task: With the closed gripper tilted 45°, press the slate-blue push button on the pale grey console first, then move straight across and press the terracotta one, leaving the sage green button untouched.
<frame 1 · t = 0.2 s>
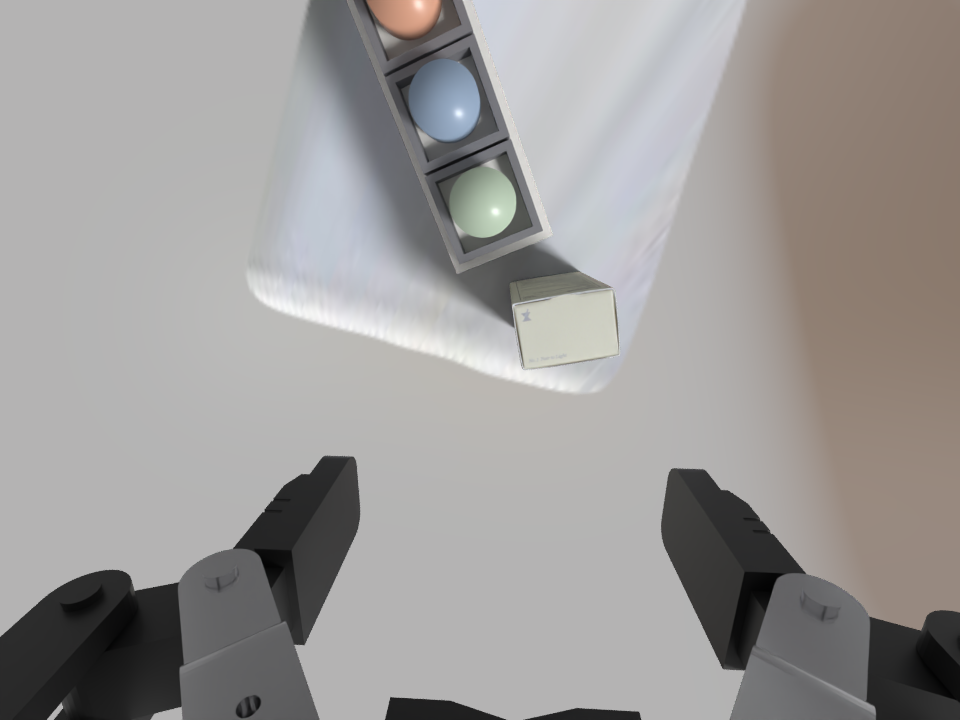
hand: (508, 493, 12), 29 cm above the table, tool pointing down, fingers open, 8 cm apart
skincare box: (549, 299, 39), on the table
sage button: (483, 203, 29), point 9 cm above the table, slide at 0.0 cm
slate blue button: (445, 103, 27), point 9 cm above the table, slide at 0.0 cm
button console: (461, 132, 36), on the table
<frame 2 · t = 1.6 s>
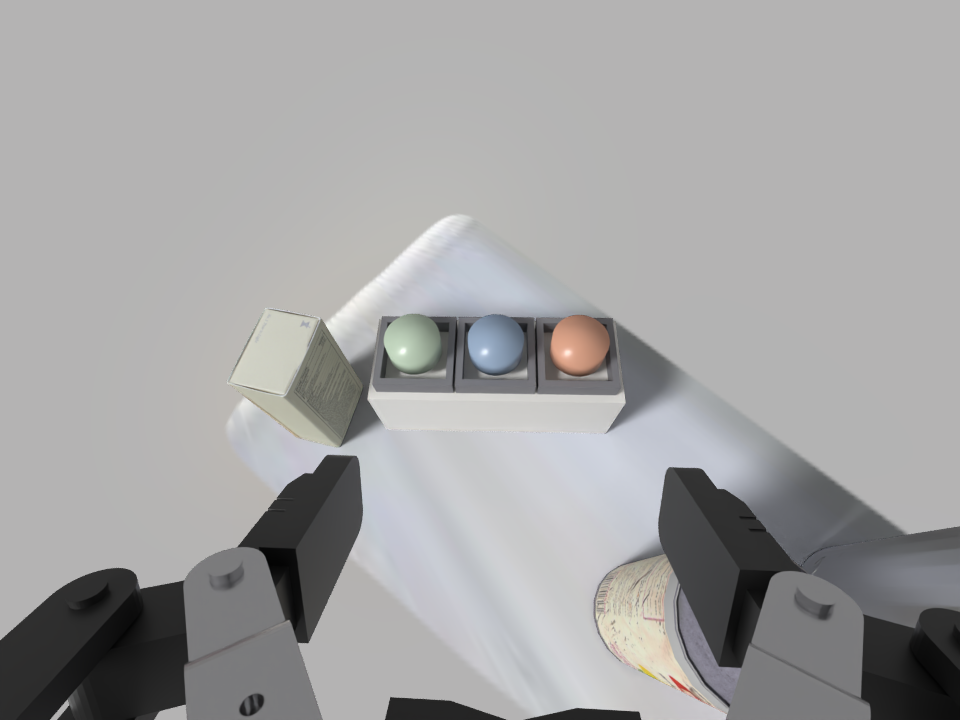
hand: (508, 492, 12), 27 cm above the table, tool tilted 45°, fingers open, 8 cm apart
skincare box: (332, 413, 42), on the table
terracotta button: (578, 345, 34), point 9 cm above the table, slide at 0.0 cm
aerosol can: (640, 614, 34), on the table
sage button: (413, 344, 34), point 9 cm above the table, slide at 0.0 cm
slate blue button: (495, 345, 34), point 9 cm above the table, slide at 0.0 cm
button console: (495, 394, 42), on the table
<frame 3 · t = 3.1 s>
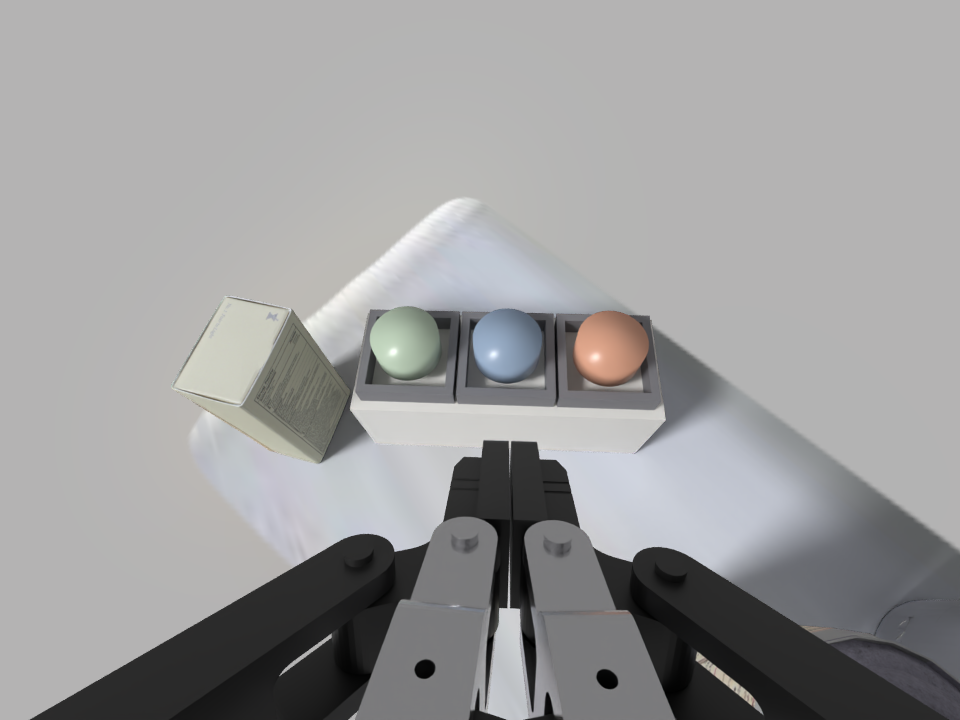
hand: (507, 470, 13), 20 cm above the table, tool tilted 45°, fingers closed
skincare box: (313, 423, 36), on the table
terracotta button: (609, 348, 27), point 9 cm above the table, slide at 0.0 cm
aerosol can: (679, 680, 28), on the table
sage button: (407, 343, 28), point 9 cm above the table, slide at 0.0 cm
slate blue button: (507, 346, 28), point 9 cm above the table, slide at 0.0 cm
button console: (504, 404, 36), on the table
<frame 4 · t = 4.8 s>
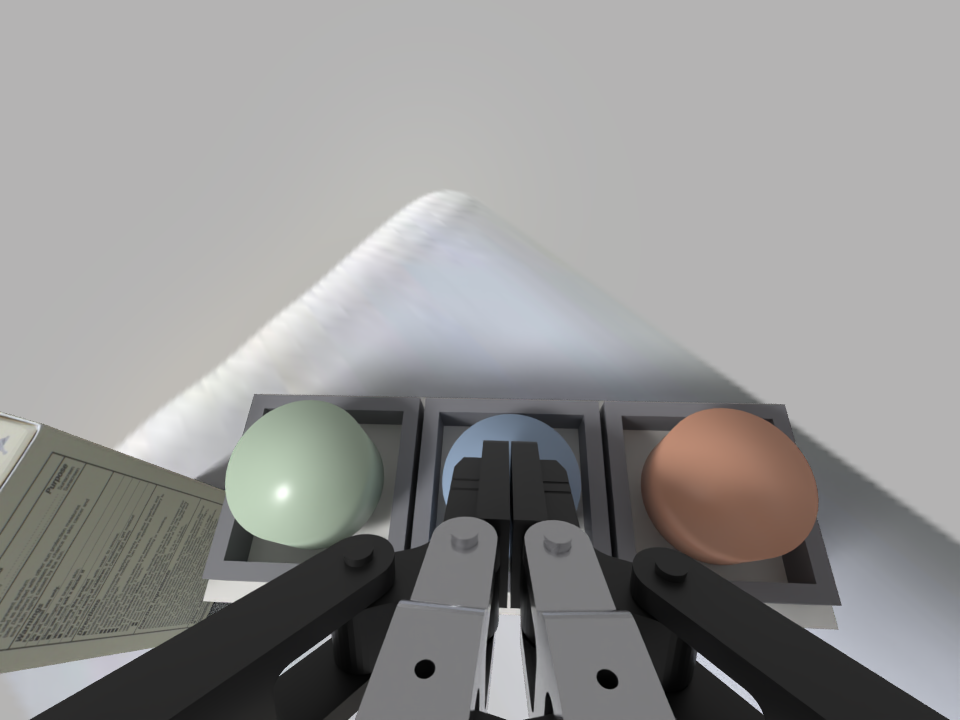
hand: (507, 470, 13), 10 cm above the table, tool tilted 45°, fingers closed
skincare box: (193, 560, 22), on the table
terracotta button: (721, 486, 13), point 9 cm above the table, slide at 0.0 cm
sage button: (310, 474, 14), point 9 cm above the table, slide at 0.0 cm
slate blue button: (510, 486, 14), point 8 cm above the table, slide at 0.8 cm, touching gripper
button console: (507, 526, 22), on the table
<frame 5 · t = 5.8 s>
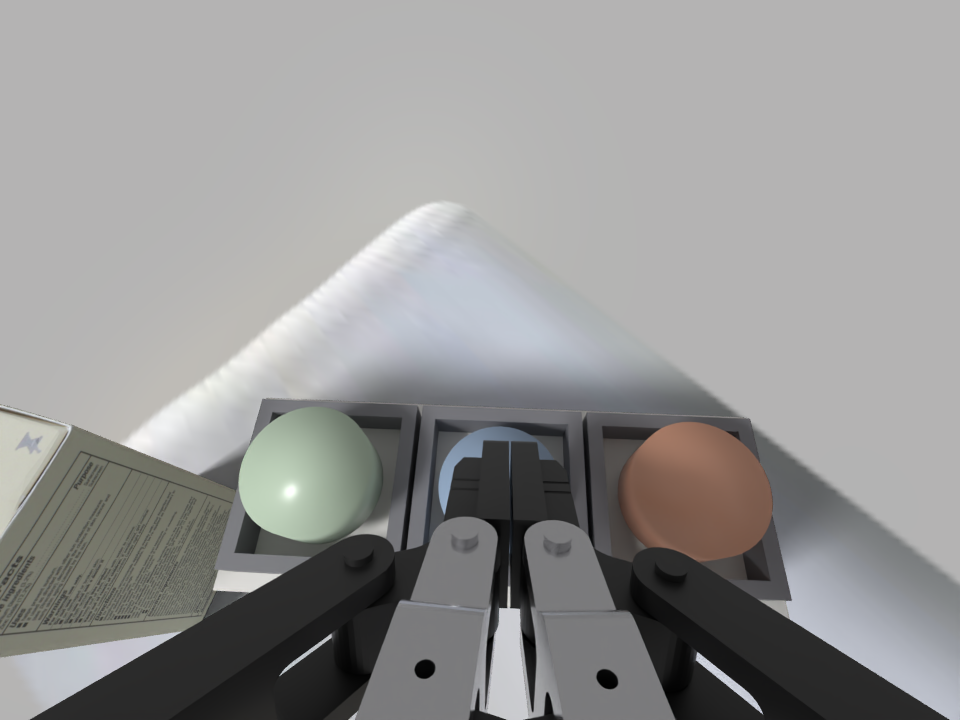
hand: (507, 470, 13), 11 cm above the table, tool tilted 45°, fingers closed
skincare box: (196, 552, 23), on the table
terracotta button: (689, 492, 15), point 9 cm above the table, slide at 0.0 cm
sage button: (315, 475, 15), point 9 cm above the table, slide at 0.0 cm
slate blue button: (499, 491, 16), point 8 cm above the table, slide at 1.2 cm
button console: (495, 525, 23), on the table
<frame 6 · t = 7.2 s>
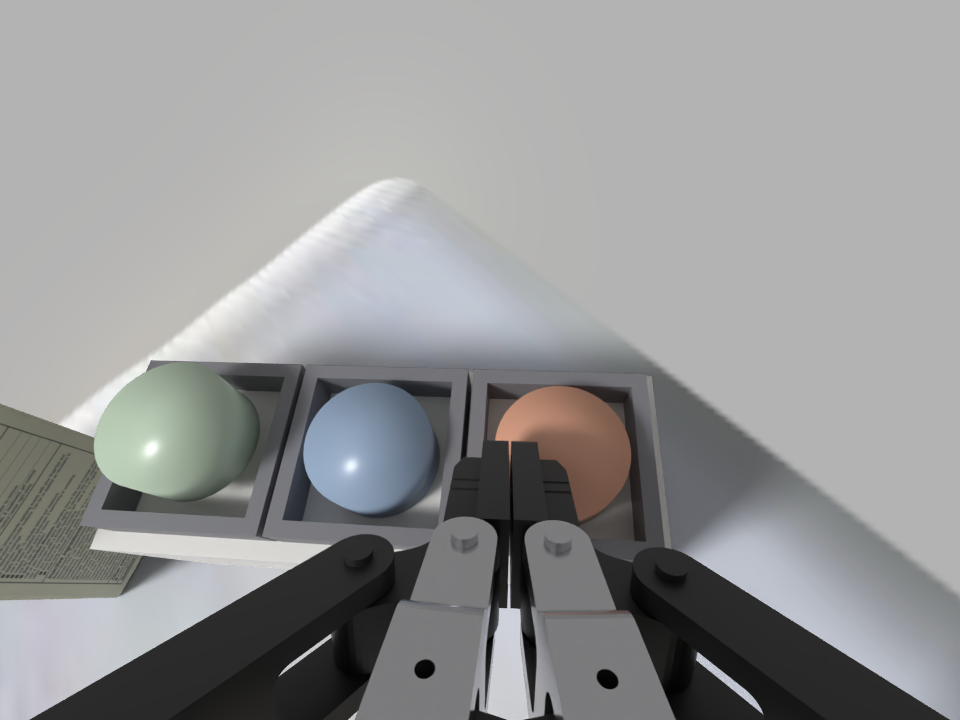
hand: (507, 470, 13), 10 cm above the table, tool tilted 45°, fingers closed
skincare box: (125, 523, 23), on the table
terracotta button: (559, 456, 15), point 8 cm above the table, slide at 1.0 cm, touching gripper
sage button: (182, 431, 15), point 9 cm above the table, slide at 0.0 cm
slate blue button: (375, 450, 15), point 8 cm above the table, slide at 1.2 cm
button console: (419, 497, 22), on the table
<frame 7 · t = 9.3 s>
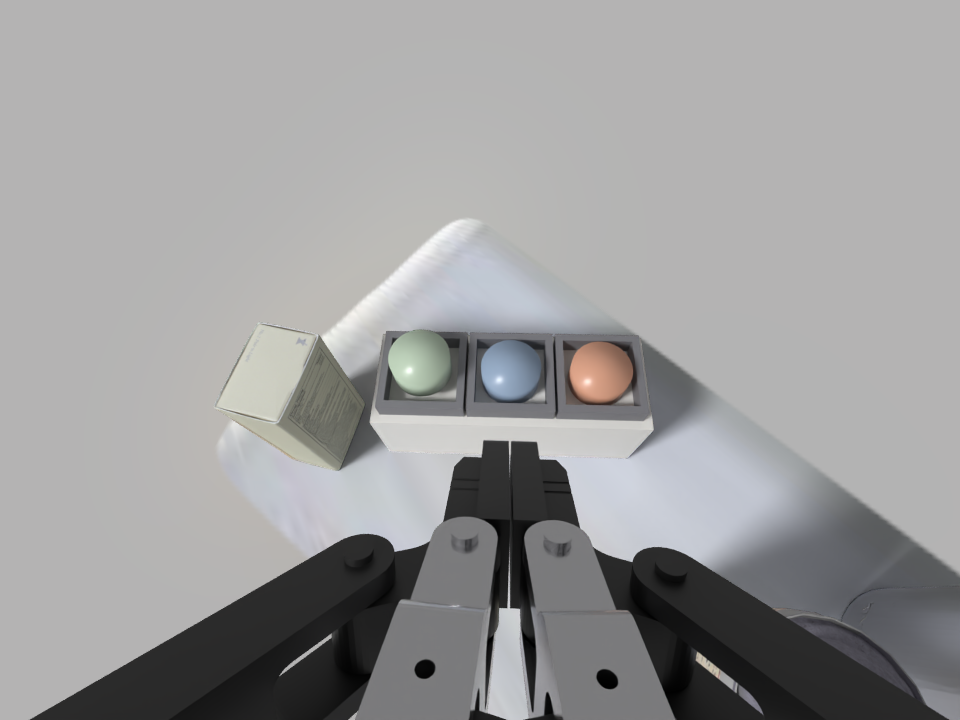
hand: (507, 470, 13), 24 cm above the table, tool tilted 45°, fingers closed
skincare box: (331, 433, 39), on the table
terracotta button: (599, 374, 32), point 8 cm above the table, slide at 1.2 cm
aerosol can: (667, 663, 31), on the table
sage button: (421, 363, 31), point 9 cm above the table, slide at 0.0 cm
slate blue button: (510, 372, 32), point 8 cm above the table, slide at 1.2 cm
button console: (507, 414, 39), on the table
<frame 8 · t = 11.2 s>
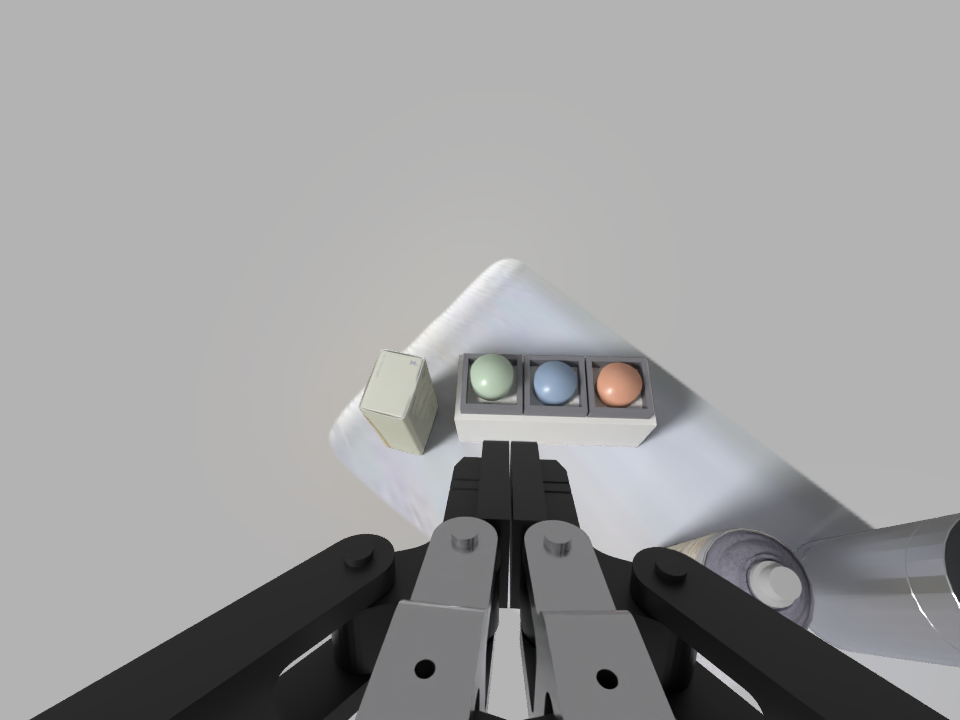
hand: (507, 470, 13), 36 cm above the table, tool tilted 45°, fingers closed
skincare box: (413, 427, 52), on the table
terracotta button: (617, 385, 44), point 8 cm above the table, slide at 1.2 cm
aerosol can: (666, 590, 43), on the table
sage button: (491, 377, 44), point 9 cm above the table, slide at 0.0 cm
slate blue button: (554, 384, 45), point 8 cm above the table, slide at 1.2 cm
button console: (546, 414, 52), on the table
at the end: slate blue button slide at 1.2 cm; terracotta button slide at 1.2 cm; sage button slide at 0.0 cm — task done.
